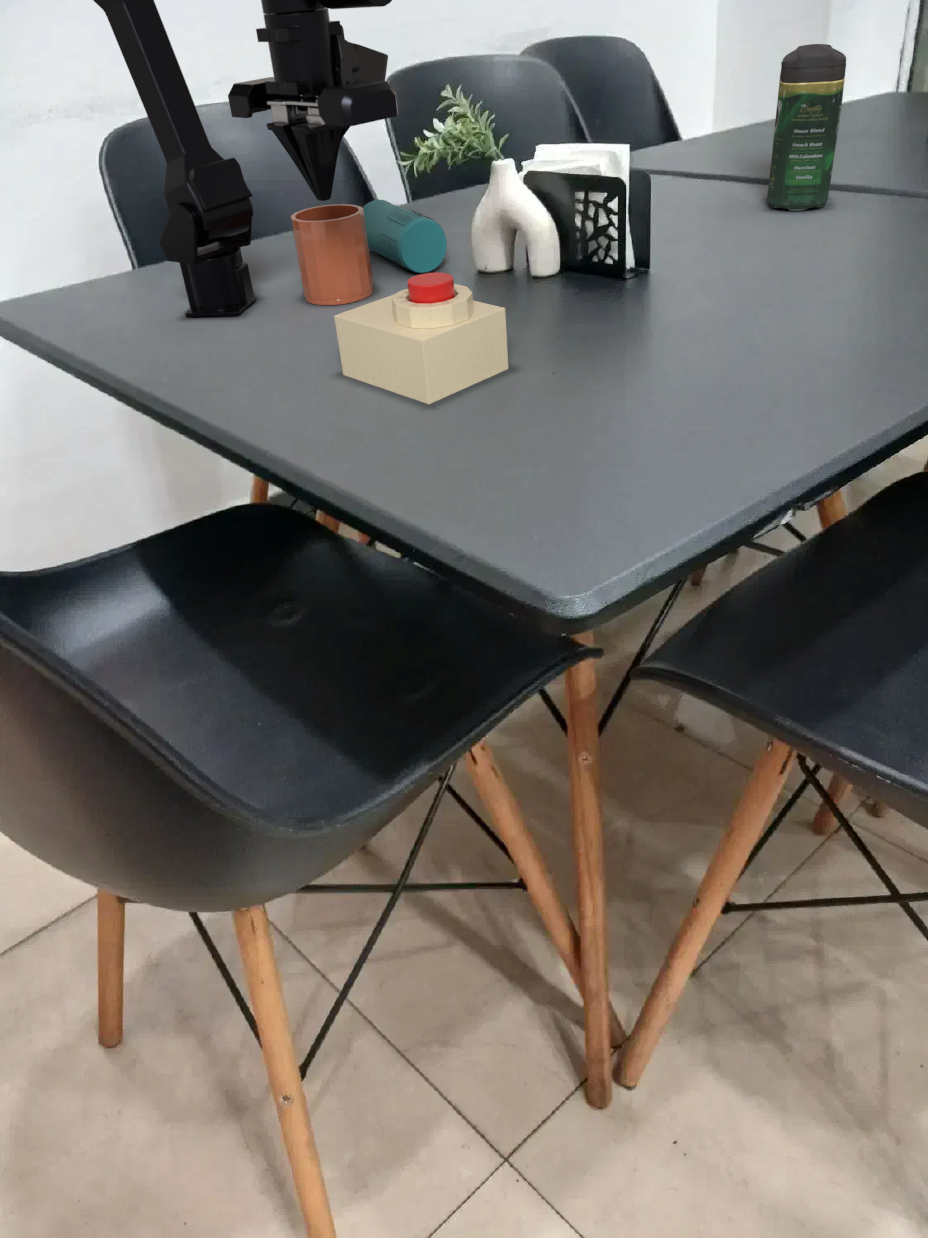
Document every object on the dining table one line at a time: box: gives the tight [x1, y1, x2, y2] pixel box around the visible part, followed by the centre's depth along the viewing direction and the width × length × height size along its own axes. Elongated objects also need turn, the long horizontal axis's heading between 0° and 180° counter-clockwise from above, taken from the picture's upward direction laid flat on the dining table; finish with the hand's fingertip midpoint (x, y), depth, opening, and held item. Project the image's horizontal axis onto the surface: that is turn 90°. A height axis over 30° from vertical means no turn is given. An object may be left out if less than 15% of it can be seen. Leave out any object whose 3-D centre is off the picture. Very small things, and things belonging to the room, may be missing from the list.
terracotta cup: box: [290, 203, 374, 306], centre depth 110 cm, size 8×8×9 cm
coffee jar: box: [767, 43, 847, 212], centre depth 125 cm, size 10×8×19 cm
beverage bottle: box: [359, 199, 448, 275], centre depth 121 cm, size 6×7×20 cm
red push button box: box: [333, 283, 509, 405], centre depth 88 cm, size 12×10×8 cm
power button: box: [406, 272, 455, 304], centre depth 85 cm, size 4×4×2 cm
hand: (324, 199), depth 94 cm, fingers closed
